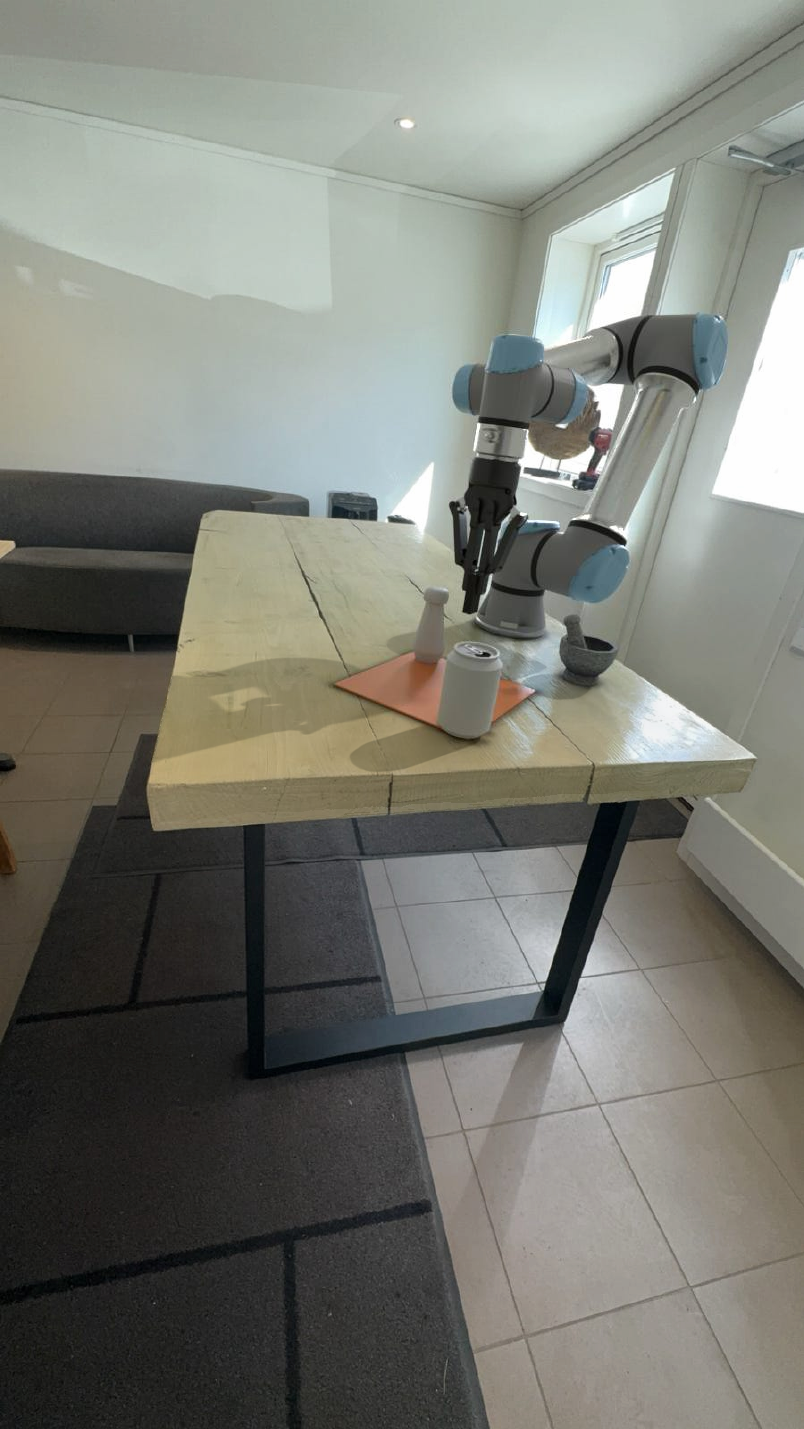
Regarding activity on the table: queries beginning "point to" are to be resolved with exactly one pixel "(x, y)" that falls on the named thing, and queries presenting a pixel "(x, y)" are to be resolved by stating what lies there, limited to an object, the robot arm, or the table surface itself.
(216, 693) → the table surface
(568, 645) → the mortar and pestle
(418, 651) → the salt shaker
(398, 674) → the orange square board
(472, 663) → the can
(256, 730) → the table surface
